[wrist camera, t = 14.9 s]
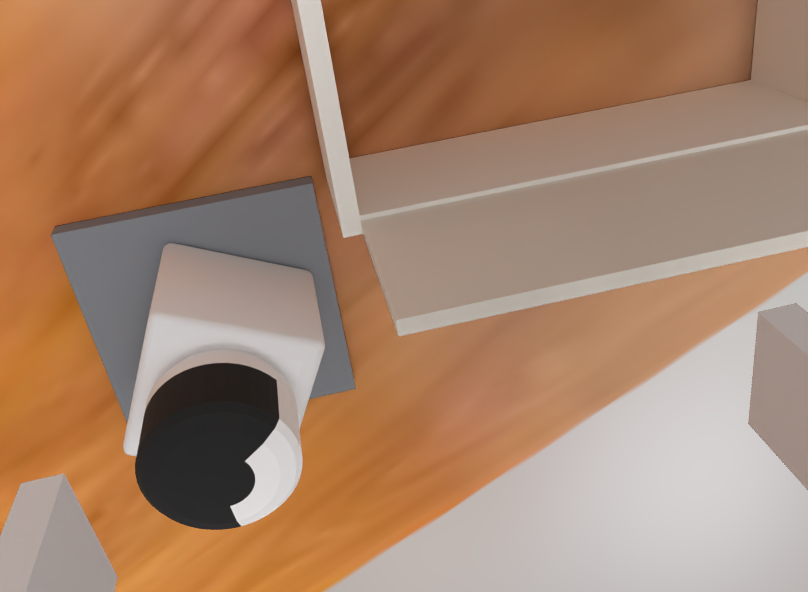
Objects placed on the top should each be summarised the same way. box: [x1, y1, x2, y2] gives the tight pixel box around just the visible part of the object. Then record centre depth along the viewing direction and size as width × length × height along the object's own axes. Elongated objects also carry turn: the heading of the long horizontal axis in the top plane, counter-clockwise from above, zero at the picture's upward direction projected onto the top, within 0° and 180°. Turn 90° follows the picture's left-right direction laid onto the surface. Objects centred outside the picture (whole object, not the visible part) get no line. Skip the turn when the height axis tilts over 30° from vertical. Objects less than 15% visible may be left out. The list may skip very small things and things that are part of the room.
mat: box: [51, 176, 356, 423], centre depth 38 cm, size 12×12×1 cm
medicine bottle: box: [123, 243, 325, 530], centre depth 33 cm, size 7×7×12 cm
